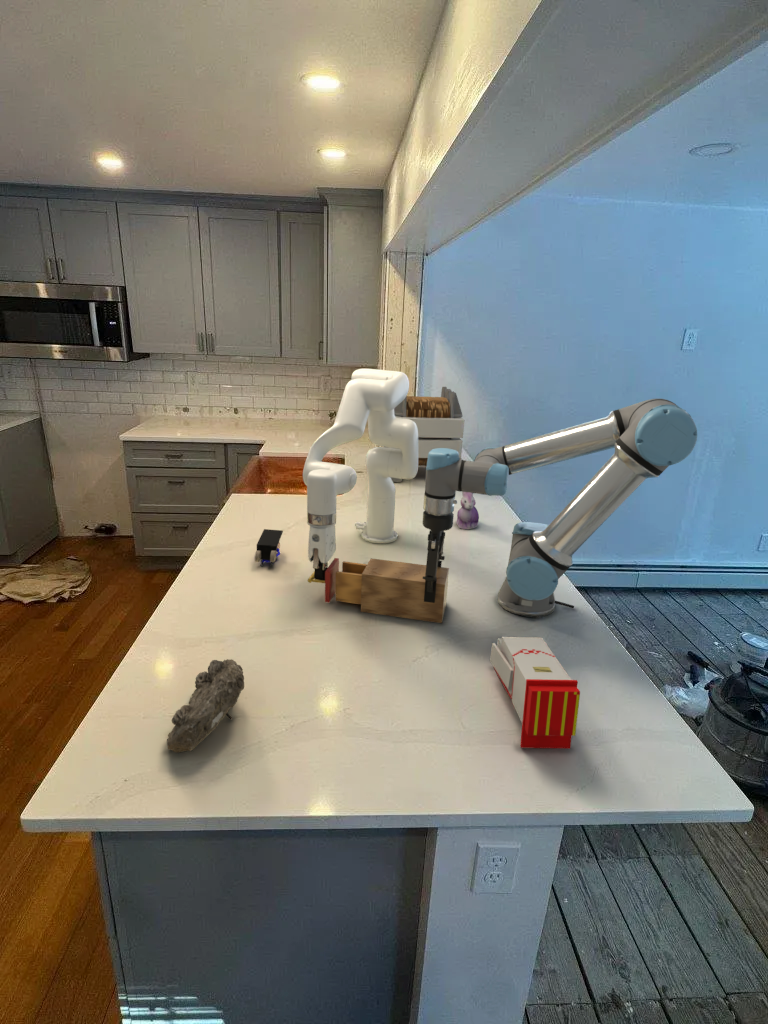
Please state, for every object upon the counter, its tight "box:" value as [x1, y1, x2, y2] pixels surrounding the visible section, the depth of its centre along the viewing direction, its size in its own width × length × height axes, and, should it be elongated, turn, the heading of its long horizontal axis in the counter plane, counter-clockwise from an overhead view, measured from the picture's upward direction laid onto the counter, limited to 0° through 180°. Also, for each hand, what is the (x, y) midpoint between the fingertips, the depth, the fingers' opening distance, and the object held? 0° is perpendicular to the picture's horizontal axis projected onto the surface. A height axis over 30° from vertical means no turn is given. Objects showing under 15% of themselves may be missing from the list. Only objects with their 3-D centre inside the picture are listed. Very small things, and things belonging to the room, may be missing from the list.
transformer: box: [387, 386, 465, 483], centre depth 268 cm, size 34×33×41 cm
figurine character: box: [254, 528, 284, 568], centre depth 174 cm, size 7×8×15 cm
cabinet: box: [360, 557, 450, 624], centre depth 149 cm, size 21×10×11 cm, turn 78°
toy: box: [489, 636, 581, 749], centre depth 115 cm, size 12×13×30 cm
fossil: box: [166, 658, 245, 754], centre depth 106 cm, size 22×10×15 cm
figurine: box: [455, 492, 480, 530], centre depth 208 cm, size 9×10×15 cm
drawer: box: [307, 557, 368, 605], centre depth 151 cm, size 25×9×9 cm, turn 78°
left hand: (321, 581), depth 153 cm, fingers closed
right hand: (432, 591), depth 147 cm, fingers closed on cabinet, 10 cm apart
